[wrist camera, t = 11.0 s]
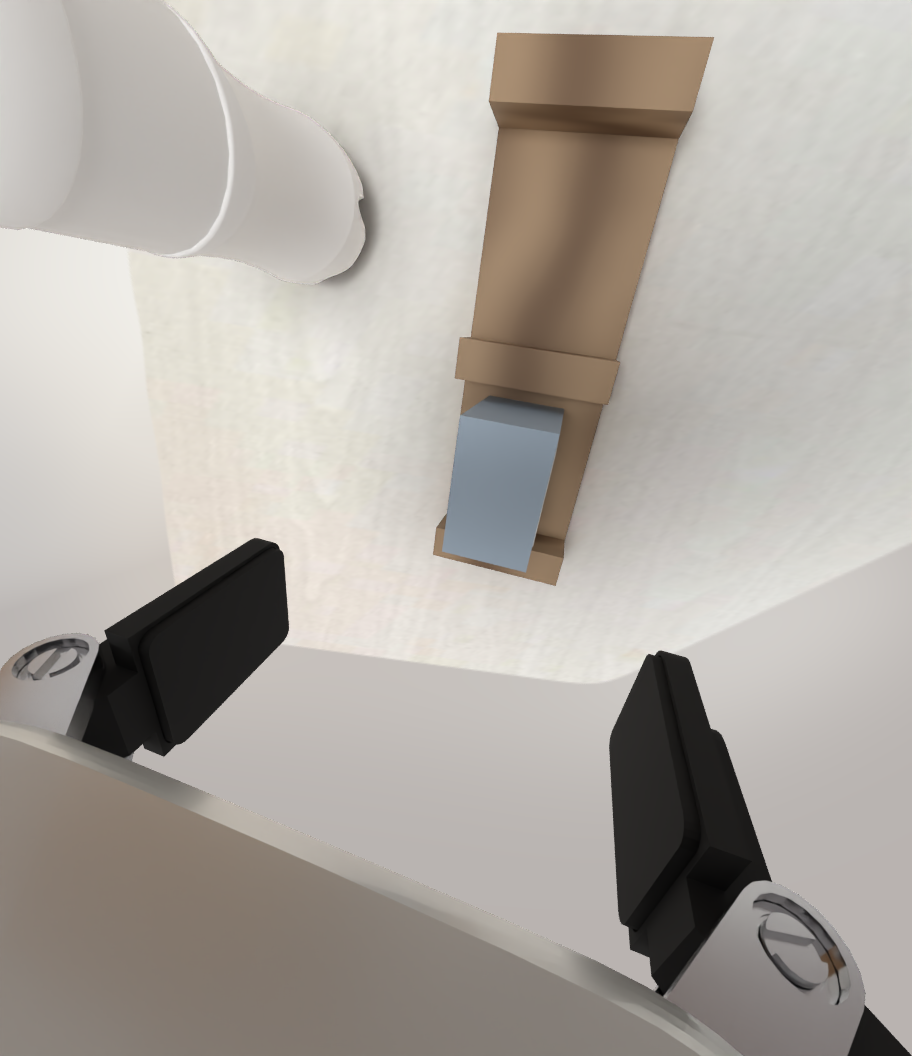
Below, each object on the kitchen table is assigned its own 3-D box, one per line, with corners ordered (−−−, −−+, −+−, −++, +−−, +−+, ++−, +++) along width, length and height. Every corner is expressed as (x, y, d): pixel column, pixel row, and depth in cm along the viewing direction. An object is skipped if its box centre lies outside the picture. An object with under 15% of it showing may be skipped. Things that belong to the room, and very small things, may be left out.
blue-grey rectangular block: (565, 408, 24) (560, 434, 18) (538, 518, 27) (526, 572, 21) (489, 395, 24) (460, 415, 18) (472, 503, 28) (441, 551, 21)
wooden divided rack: (688, 94, 18) (713, 37, 15) (558, 555, 29) (555, 585, 26) (511, 86, 20) (497, 32, 16) (449, 529, 31) (433, 554, 27)
